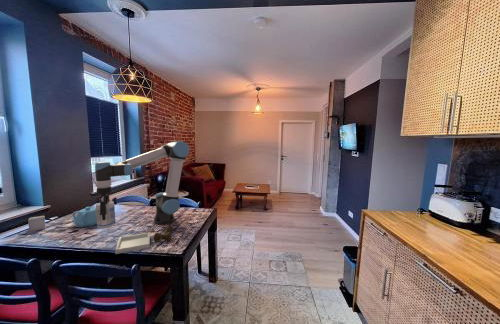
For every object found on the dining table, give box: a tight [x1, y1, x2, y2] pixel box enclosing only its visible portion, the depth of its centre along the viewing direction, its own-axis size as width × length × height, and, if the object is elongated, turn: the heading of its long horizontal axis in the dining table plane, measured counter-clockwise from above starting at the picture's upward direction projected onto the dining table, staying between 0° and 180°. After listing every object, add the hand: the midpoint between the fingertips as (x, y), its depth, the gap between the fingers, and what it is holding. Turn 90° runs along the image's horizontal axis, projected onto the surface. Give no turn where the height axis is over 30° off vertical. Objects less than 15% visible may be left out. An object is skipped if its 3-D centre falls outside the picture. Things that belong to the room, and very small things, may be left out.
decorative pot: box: [72, 206, 97, 228], centre depth 151 cm, size 16×16×14 cm
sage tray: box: [114, 232, 151, 255], centre depth 124 cm, size 17×17×2 cm
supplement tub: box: [95, 200, 116, 229], centre depth 126 cm, size 10×10×15 cm
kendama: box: [153, 225, 174, 243], centre depth 132 cm, size 6×10×20 cm
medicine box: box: [27, 215, 46, 232], centre depth 142 cm, size 8×4×9 cm, turn 134°
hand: (106, 221), depth 126 cm, fingers closed on supplement tub, 10 cm apart
